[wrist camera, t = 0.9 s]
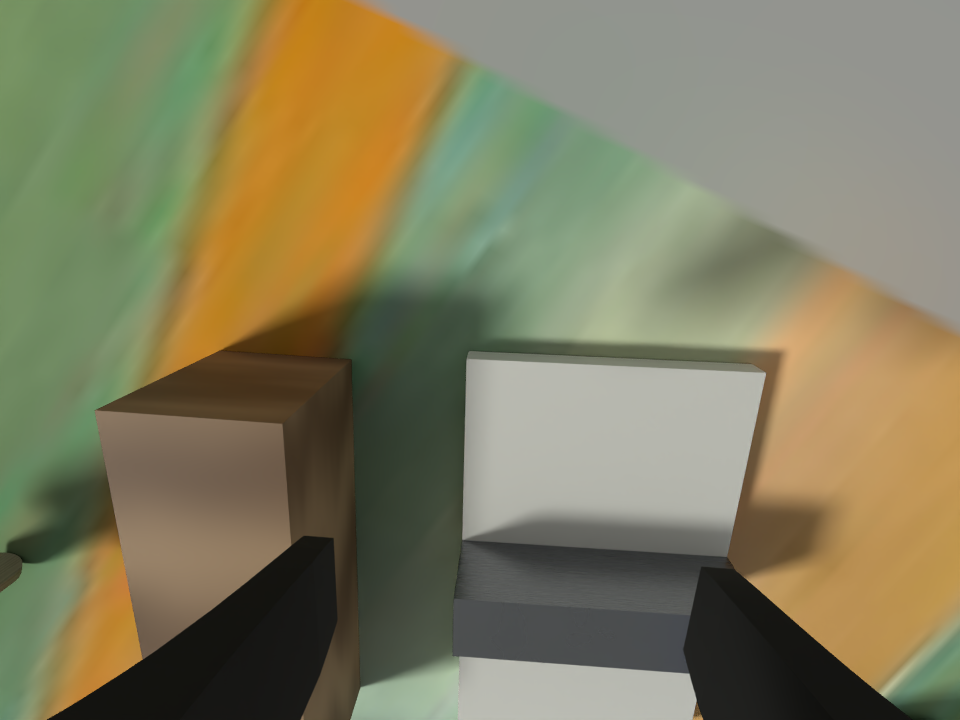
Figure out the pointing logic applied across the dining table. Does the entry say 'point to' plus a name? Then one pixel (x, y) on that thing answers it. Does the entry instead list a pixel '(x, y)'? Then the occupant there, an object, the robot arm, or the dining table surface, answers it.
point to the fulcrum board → (592, 529)
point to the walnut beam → (236, 492)
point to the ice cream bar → (9, 569)
